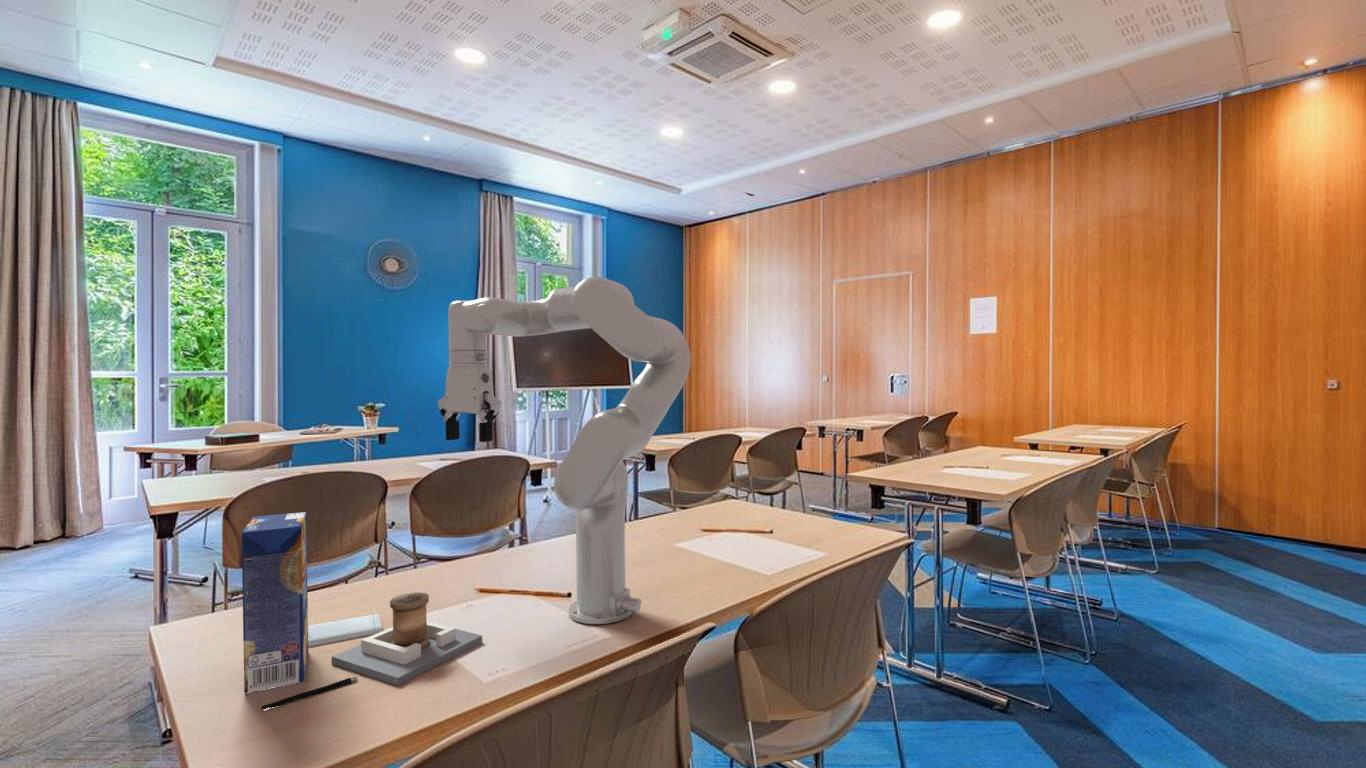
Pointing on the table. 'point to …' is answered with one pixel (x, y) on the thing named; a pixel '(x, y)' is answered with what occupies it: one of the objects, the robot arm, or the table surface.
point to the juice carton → (275, 601)
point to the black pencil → (310, 693)
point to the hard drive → (343, 629)
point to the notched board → (405, 653)
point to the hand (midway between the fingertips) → (469, 440)
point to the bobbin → (410, 619)
